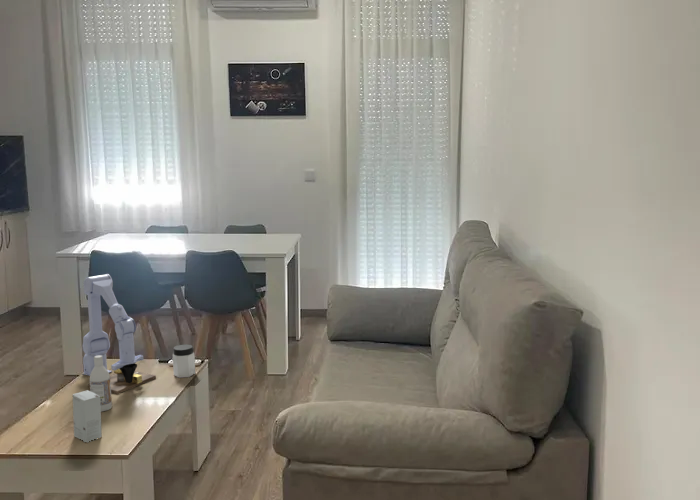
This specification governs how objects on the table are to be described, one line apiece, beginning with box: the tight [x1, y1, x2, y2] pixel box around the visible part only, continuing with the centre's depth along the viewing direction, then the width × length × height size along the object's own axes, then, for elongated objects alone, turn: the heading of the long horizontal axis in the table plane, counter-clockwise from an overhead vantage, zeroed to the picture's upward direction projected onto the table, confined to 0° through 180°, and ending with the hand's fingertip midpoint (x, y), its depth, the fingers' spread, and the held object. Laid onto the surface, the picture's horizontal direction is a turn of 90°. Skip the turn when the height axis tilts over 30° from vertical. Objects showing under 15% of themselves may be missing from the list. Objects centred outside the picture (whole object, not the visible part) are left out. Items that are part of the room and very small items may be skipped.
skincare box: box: [72, 389, 103, 443], centre depth 217 cm, size 8×6×15 cm
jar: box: [172, 343, 196, 379], centre depth 277 cm, size 9×8×12 cm
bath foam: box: [89, 355, 113, 413], centre depth 241 cm, size 7×7×20 cm
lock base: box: [87, 370, 157, 395], centre depth 269 cm, size 17×20×4 cm
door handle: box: [113, 369, 142, 384], centre depth 267 cm, size 13×6×5 cm, turn 61°
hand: (129, 382), depth 263 cm, fingers closed
